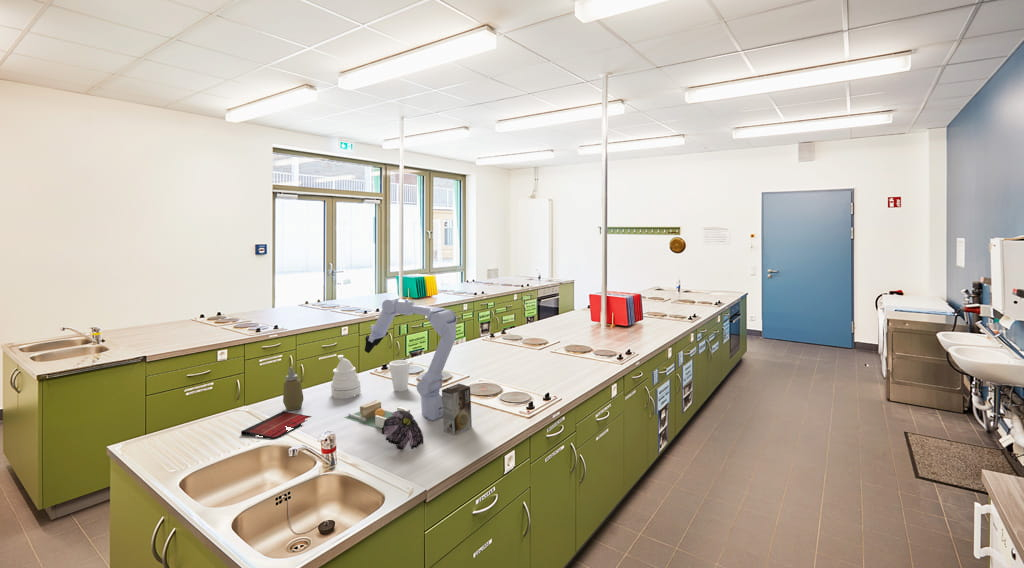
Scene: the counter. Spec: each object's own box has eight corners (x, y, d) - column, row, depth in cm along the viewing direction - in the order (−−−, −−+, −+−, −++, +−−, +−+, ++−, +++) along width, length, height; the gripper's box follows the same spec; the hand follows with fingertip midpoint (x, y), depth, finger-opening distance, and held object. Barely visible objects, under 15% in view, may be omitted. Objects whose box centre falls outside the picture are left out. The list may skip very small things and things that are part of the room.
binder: (240, 430, 178) (282, 410, 198) (240, 436, 178) (282, 415, 198) (275, 436, 173) (315, 415, 193) (276, 442, 173) (315, 421, 193)
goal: (410, 419, 187) (409, 409, 187) (386, 429, 178) (386, 419, 177) (399, 416, 191) (398, 406, 191) (375, 426, 182) (375, 415, 181)
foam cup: (413, 386, 231) (412, 359, 230) (407, 392, 222) (406, 365, 221) (394, 386, 232) (393, 359, 231) (387, 392, 223) (386, 365, 222)
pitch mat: (413, 420, 188) (413, 416, 188) (385, 433, 177) (385, 428, 176) (372, 408, 202) (372, 404, 202) (344, 419, 191) (343, 414, 191)
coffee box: (460, 423, 184) (458, 383, 182) (472, 427, 180) (471, 386, 178) (442, 431, 177) (441, 389, 175) (454, 435, 173) (453, 392, 171)
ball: (387, 418, 189) (386, 408, 189) (379, 421, 186) (378, 411, 186) (380, 416, 192) (380, 406, 191) (372, 419, 188) (372, 409, 188)
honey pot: (325, 397, 218) (323, 358, 216) (343, 388, 231) (341, 351, 229) (349, 399, 215) (347, 360, 213) (366, 390, 227) (364, 353, 225)
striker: (381, 413, 194) (380, 401, 194) (365, 419, 188) (364, 407, 187) (376, 411, 196) (376, 400, 196) (360, 418, 190) (359, 406, 189)
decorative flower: (391, 429, 156) (384, 402, 169) (380, 458, 159) (375, 429, 172) (432, 431, 163) (423, 406, 176) (422, 459, 166) (413, 432, 179)
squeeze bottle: (296, 412, 200) (293, 370, 198) (279, 411, 202) (276, 369, 200) (308, 405, 208) (305, 365, 206) (291, 404, 210) (288, 364, 208)
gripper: (382, 312, 206) (370, 336, 211) (367, 324, 193) (354, 350, 197) (396, 320, 206) (384, 344, 211) (382, 333, 193) (369, 358, 197)
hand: (370, 347), depth 204 cm, fingers open, 7 cm apart
